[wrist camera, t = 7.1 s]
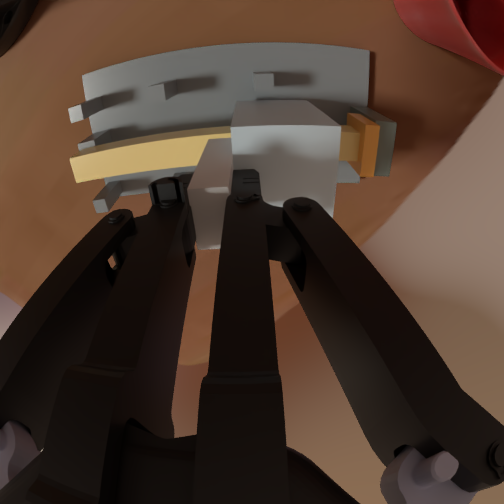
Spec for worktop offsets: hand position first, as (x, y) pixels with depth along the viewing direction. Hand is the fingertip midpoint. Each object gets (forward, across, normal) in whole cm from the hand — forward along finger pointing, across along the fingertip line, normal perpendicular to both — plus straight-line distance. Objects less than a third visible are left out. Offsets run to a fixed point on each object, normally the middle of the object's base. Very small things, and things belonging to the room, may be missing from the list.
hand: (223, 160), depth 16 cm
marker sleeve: (+5, +3, 0) cm, 6 cm away
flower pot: (+8, +18, +13) cm, 23 cm away
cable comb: (+8, 0, +1) cm, 8 cm away
